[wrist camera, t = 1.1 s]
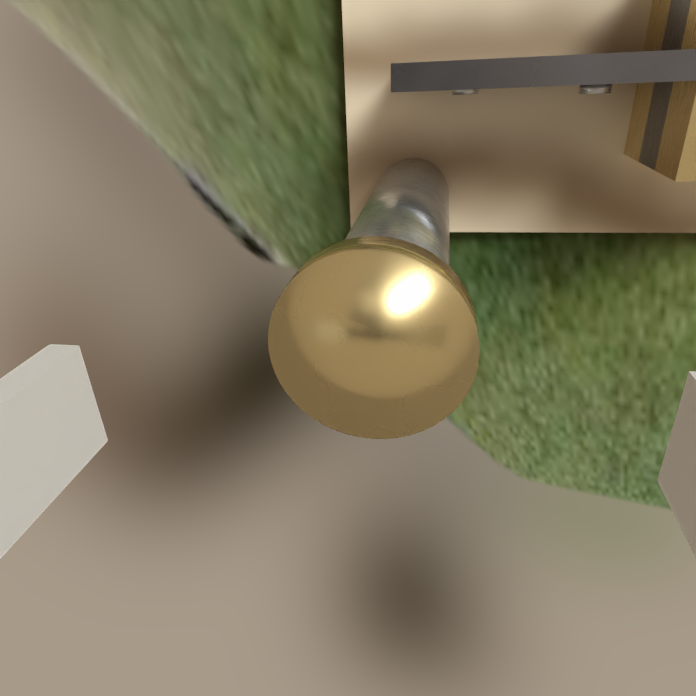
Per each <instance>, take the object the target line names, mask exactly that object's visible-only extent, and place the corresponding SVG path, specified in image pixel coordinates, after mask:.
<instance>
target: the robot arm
mask: <svg viewBox="0 0 696 696" xmlns="http://www.w3.org/2000/svg"><path fill="white" fill-rule="evenodd" d="M107 441H108V439H107V436H106V433H105V429H104V426H103V423H102V420H101V416H100V413H99V410H98V407H97V403H96V400H95V397H94V393H93V390H92V387H91V383H90V380H89V377H88V373H87V370H86V367H85V364H84V360H83V357H82V354H81V350H80V347H79V346H78V345H55V344H50V345H48V346H47V347H45V348H44V349H42V350H41V351H39V352H38V353H37V354H35V355H34V356H32V357H31V358H29V359H28V360H27V361H25V362H24V363H22V364H21V365H19V366H18V367H16V368H15V369H14V370H12V371H11V372H9V373H8V374H6V375H5V376H4V377H2V378H1V379H0V559H1V557H2V556H3V555H4V554H5V553H6V552H7V551H8V550H9V549H10V547H11V546H12V545H13V544H14V543H15V542H16V541H17V540H18V539H19V538H20V537H21V535H22V534H23V533H24V532H25V531H26V530H27V529H28V528H29V527H30V526H31V525H32V523H33V522H34V521H35V520H36V519H37V518H38V517H39V516H40V515H41V514H42V512H43V511H44V510H45V509H46V508H47V507H48V506H49V505H50V504H51V502H53V500H54V499H55V498H56V497H57V496H58V495H59V494H60V493H61V492H62V490H63V489H64V488H65V487H66V486H67V485H68V484H69V483H70V482H71V481H72V479H73V478H74V477H75V476H76V475H77V474H78V473H79V472H80V471H81V469H83V467H84V466H85V465H86V464H87V463H88V462H89V461H90V460H91V459H92V458H93V456H94V455H95V454H96V453H97V452H98V451H99V450H100V449H101V448H102V446H104V444H105V443H106V442H107ZM657 482H658V484H659V486H660V488H661V489H662V491H663V493H664V495H665V497H666V499H667V501H668V503H669V505H670V507H671V509H672V511H673V513H674V515H675V517H676V519H677V521H678V523H679V525H680V527H681V529H682V531H683V533H684V535H685V537H686V539H687V541H688V543H689V545H690V547H691V549H692V551H693V553H694V554H695V556H696V372H692V371H689V373H688V376H687V380H686V383H685V387H684V390H683V394H682V397H681V401H680V404H679V408H678V411H677V415H676V418H675V421H674V425H673V428H672V432H671V435H670V439H669V442H668V446H667V449H666V453H665V456H664V460H663V463H662V467H661V470H660V473H659V477H658V480H657Z"/></svg>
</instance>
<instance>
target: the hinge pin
mask: <svg viewBox="0 0 696 696" xmlns="http://www.w3.org/2000/svg"><path fill="white" fill-rule="evenodd" d="M268 349H269V354H270V360H271V363H272V366H273V369H274V372H275V374H276V376H277V378H278V380H279V382H280V384H281V385H282V387H283V388H284V390H285V391H286V393H287V394H288V395H289V397H290V398H291V399H292V400H293V401H294V403H295V404H297V405H298V406H299V407H300V408H301V409H302V410H303V411H304V412H305V413H307V414H308V415H309V416H311V417H312V418H314V419H315V420H317V421H318V422H320V423H322V424H323V425H325V426H327V427H330V428H332V429H334V430H336V431H340V432H342V433H345V434H349V435H353V436H357V437H364V438H371V439H389V438H399V437H404V436H408V435H412V434H415V433H418V432H421V431H424V430H426V429H428V428H430V427H432V426H434V425H436V424H437V423H439V422H440V421H442V420H443V419H445V418H446V417H447V416H448V415H450V414H451V413H452V412H453V411H454V410H455V409H456V408H457V407H458V406H459V405H460V403H461V402H462V401H463V399H464V398H465V396H466V395H467V394H468V392H469V390H470V388H471V386H472V384H473V382H474V379H475V375H476V372H477V368H478V362H479V339H478V329H477V321H476V314H475V310H474V307H473V303H472V300H471V298H470V296H469V294H468V291H467V289H466V287H465V286H464V284H463V283H462V281H461V280H460V278H459V277H458V276H457V275H456V273H455V272H454V271H453V270H452V269H451V268H450V239H449V187H448V183H447V180H446V178H445V176H444V174H443V173H442V172H441V170H440V169H439V168H438V167H437V166H435V165H434V164H433V163H431V162H429V161H427V160H424V159H419V158H407V159H403V160H400V161H398V162H396V163H394V164H393V165H391V166H390V167H389V168H388V169H387V170H386V171H385V172H384V173H383V175H382V176H381V178H380V180H379V181H378V183H377V185H376V187H375V188H374V190H373V192H372V194H371V195H370V197H369V199H368V201H367V202H366V204H365V206H364V207H363V209H362V211H361V213H360V214H359V216H358V218H357V220H356V221H355V223H354V225H353V226H352V228H351V230H350V232H349V233H348V235H347V237H346V239H345V240H343V241H340V242H337V243H334V244H332V245H330V246H328V247H326V248H324V249H322V250H321V251H319V252H318V253H316V254H315V255H313V256H312V257H311V258H310V259H309V260H308V261H306V262H305V263H304V264H303V265H302V266H301V268H300V269H299V270H298V271H297V272H296V274H295V275H294V277H293V278H292V279H291V281H290V282H289V283H288V285H287V286H286V288H285V289H284V290H283V292H282V294H281V295H280V297H279V299H278V300H277V302H276V304H275V307H274V309H273V312H272V315H271V319H270V323H269V330H268Z"/></svg>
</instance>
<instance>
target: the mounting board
mask: <svg viewBox="0 0 696 696" xmlns="http://www.w3.org/2000/svg"><path fill="white" fill-rule="evenodd" d="M652 1H653V0H342V23H343V48H344V73H345V97H346V122H347V147H348V172H349V197H350V222H351V228H352V226H353V225H354V223H355V221H356V220H357V218H358V216H359V214H360V213H361V211H362V209H363V207H364V206H365V204H366V202H367V201H368V199H369V197H370V195H371V194H372V192H373V190H374V188H375V187H376V185H377V183H378V181H379V180H380V178H381V176H382V175H383V173H384V172H385V171H386V170H387V169H388V168H389V167H390V166H391V165H393V164H394V163H396V162H398V161H400V160H403V159H407V158H419V159H424V160H427V161H429V162H431V163H433V164H434V165H435V166H437V167H438V168H439V169H440V170H441V172H442V173H443V174H444V176H445V178H446V180H447V183H448V187H449V232H567V233H696V181H677V182H675V181H673V180H671V179H670V178H668V177H666V176H664V175H662V174H660V173H658V172H656V171H655V170H653V169H651V168H649V167H647V166H645V165H643V164H641V163H640V162H638V161H636V160H634V159H632V158H630V157H628V156H626V155H625V154H624V150H625V145H626V139H627V134H628V129H629V123H630V118H631V113H632V107H633V102H634V97H635V91H636V86H637V83H622V84H612V89H611V93H607V94H578V93H579V86H580V85H571V86H545V87H519V88H493V89H479V93H478V94H468V95H452V90H442V91H416V92H391V63H409V62H430V61H451V60H472V59H493V58H514V57H535V56H556V55H577V54H598V53H619V52H640V51H643V49H644V44H645V38H646V33H647V28H648V22H649V17H650V12H651V6H652Z"/></svg>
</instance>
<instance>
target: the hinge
mask: <svg viewBox="0 0 696 696" xmlns="http://www.w3.org/2000/svg"><path fill="white" fill-rule="evenodd" d="M622 83H637V86H636V91H635V97H634V102H633V107H632V113H631V118H630V123H629V129H628V134H627V139H626V145H625V150H624V154H625V155H626V156H628V157H630V158H632V159H634V160H636V161H638V162H640V163H641V164H643V165H645V166H647V167H649V168H651V169H653V170H655V171H656V172H658V173H660V174H662V175H664V176H666V177H668V178H670V179H671V180H673V181H675V182H677V181H696V0H653V1H652V6H651V12H650V17H649V22H648V28H647V33H646V38H645V44H644V49H643V51H640V52H619V53H598V54H577V55H556V56H535V57H514V58H493V59H472V60H451V61H430V62H409V63H391V92H416V91H442V90H452V95H468V94H478V93H479V89H493V88H519V87H545V86H571V85H580V86H579V93H578V94H607V93H611V89H612V84H622Z"/></svg>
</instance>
